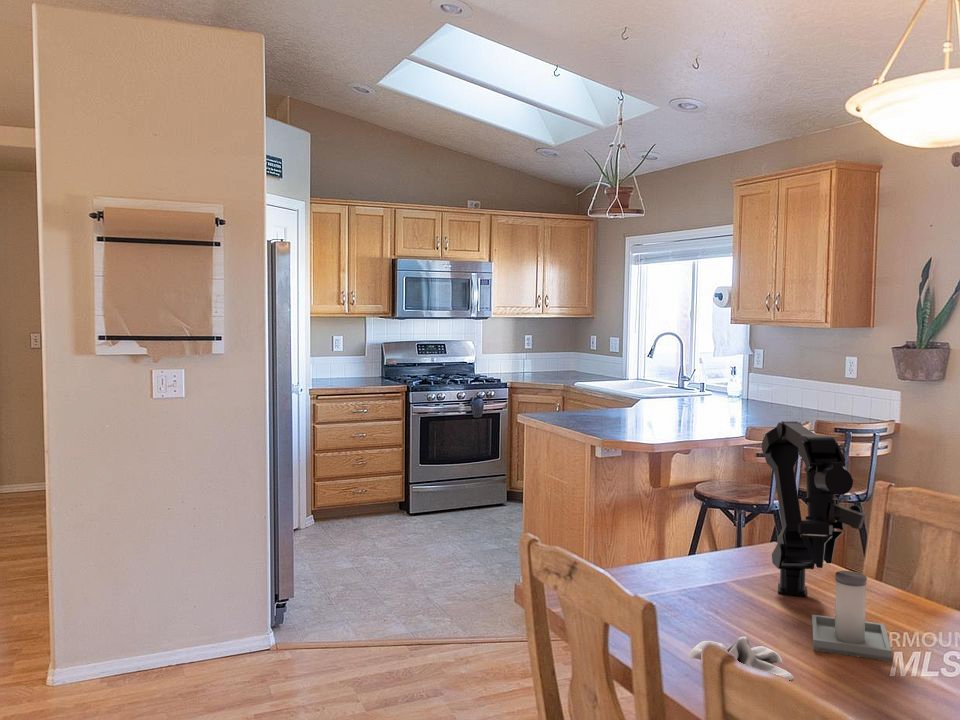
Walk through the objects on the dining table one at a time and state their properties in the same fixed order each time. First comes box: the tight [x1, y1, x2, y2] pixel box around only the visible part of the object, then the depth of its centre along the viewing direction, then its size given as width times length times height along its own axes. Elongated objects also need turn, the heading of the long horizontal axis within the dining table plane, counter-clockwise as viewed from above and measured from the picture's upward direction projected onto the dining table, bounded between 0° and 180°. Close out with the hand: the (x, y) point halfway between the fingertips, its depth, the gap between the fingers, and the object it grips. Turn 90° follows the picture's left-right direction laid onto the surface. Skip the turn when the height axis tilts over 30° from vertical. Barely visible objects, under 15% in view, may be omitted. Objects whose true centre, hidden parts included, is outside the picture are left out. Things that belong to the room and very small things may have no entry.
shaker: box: [834, 570, 868, 644], centre depth 159 cm, size 6×6×13 cm
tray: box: [811, 614, 893, 663], centre depth 160 cm, size 14×14×2 cm
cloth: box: [688, 636, 794, 682], centre depth 149 cm, size 22×19×6 cm
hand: (824, 565), depth 169 cm, fingers open, 9 cm apart
